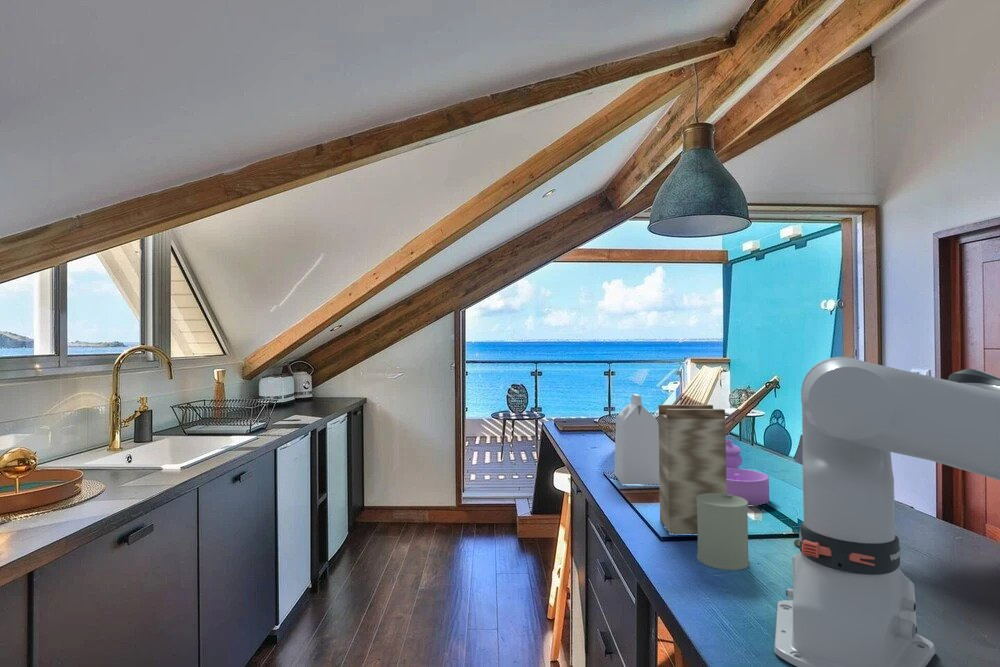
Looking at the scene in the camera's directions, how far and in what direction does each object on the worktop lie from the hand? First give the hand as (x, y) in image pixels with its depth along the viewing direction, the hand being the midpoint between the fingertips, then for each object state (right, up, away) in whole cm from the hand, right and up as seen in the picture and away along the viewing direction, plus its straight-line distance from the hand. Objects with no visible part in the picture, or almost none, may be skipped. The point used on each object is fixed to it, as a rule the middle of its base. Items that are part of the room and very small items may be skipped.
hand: (830, 374), depth 117 cm
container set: (-8, -36, +30) cm, 47 cm away
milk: (-31, -36, +44) cm, 65 cm away
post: (-30, -35, +2) cm, 46 cm away
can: (-30, -34, -16) cm, 49 cm away
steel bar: (+1, -10, 0) cm, 10 cm away
